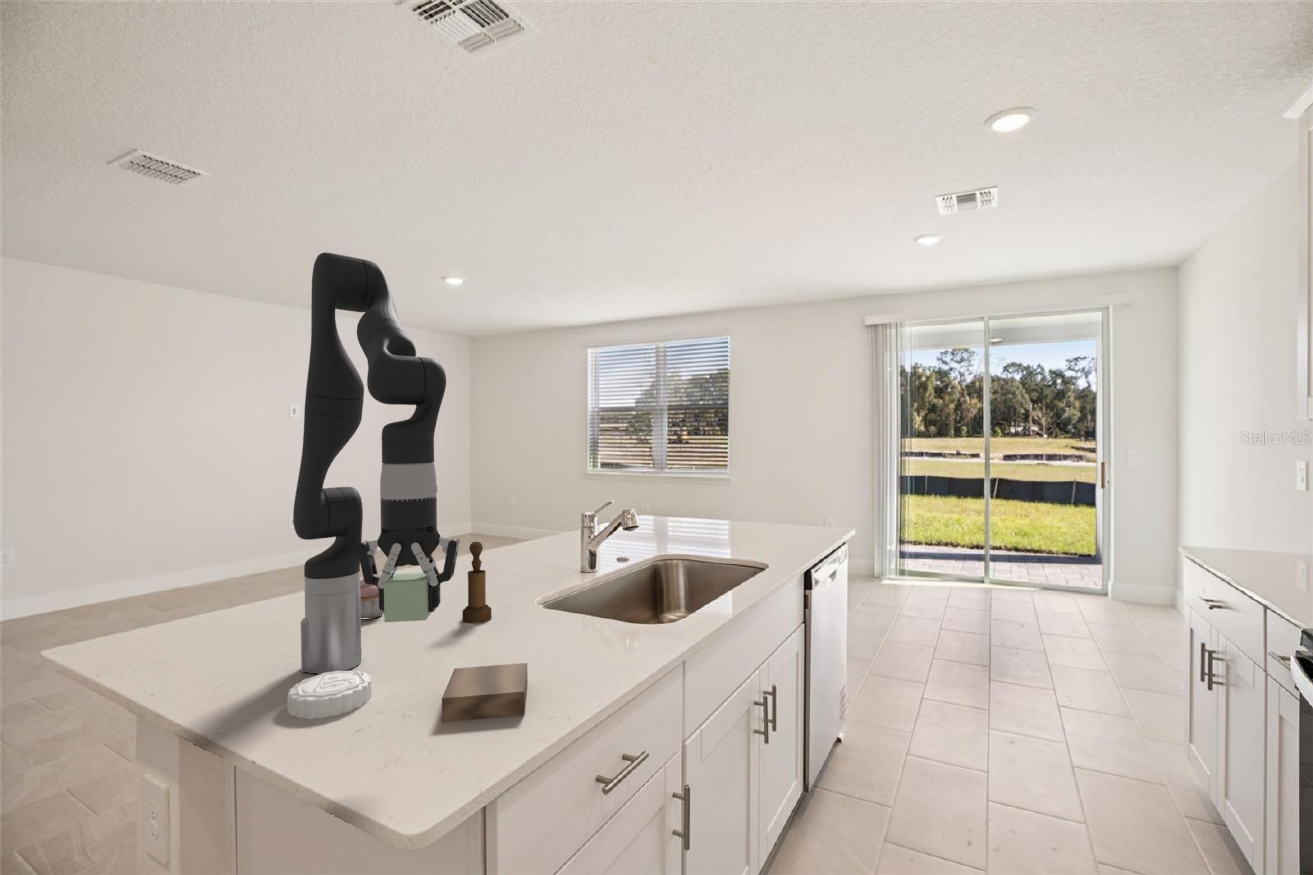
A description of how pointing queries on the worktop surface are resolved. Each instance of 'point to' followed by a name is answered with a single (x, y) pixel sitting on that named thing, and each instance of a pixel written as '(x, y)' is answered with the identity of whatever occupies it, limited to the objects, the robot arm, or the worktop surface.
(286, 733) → the worktop surface
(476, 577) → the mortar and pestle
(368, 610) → the cupcake
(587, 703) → the worktop surface
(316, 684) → the mooncake
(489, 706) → the walnut block
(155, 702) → the worktop surface
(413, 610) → the sage block
